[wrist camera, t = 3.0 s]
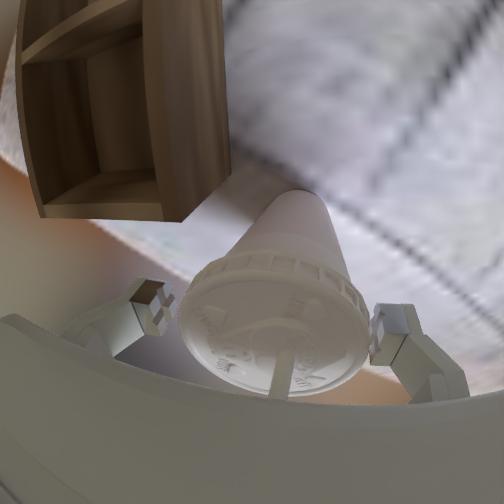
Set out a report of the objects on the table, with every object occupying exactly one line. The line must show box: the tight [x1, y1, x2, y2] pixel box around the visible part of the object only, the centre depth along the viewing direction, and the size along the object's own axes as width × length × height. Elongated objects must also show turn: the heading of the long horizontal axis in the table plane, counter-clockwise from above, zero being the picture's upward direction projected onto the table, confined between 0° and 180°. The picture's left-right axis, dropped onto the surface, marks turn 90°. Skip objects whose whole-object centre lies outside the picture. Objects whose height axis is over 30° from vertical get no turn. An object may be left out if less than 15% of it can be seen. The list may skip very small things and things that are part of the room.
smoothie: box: [178, 190, 370, 401], centre depth 10 cm, size 6×6×14 cm
